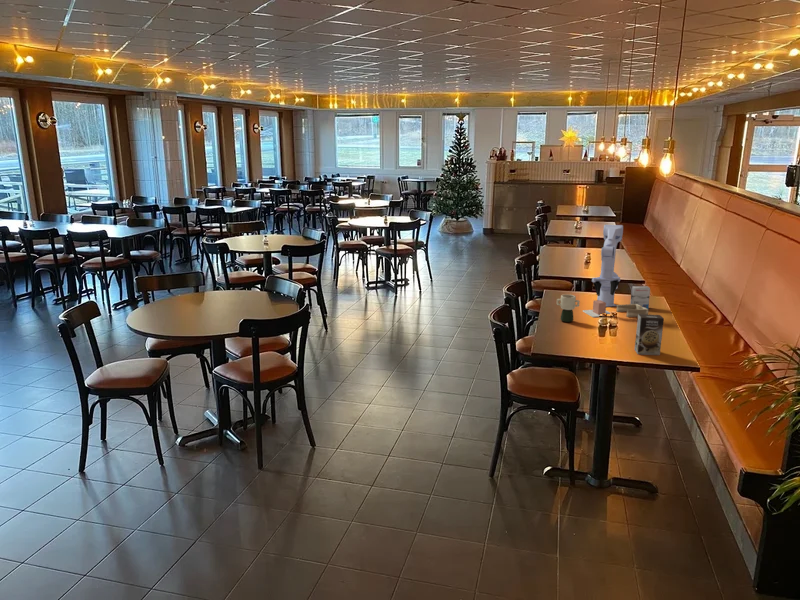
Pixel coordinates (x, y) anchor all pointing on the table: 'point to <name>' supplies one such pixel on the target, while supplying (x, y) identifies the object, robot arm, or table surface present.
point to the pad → (592, 314)
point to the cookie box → (649, 334)
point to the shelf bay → (632, 309)
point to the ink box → (640, 296)
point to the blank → (599, 307)
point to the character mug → (567, 307)
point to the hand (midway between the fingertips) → (604, 295)
